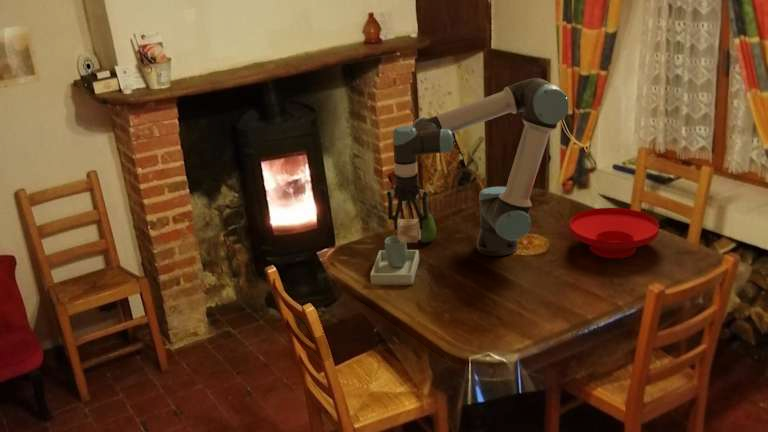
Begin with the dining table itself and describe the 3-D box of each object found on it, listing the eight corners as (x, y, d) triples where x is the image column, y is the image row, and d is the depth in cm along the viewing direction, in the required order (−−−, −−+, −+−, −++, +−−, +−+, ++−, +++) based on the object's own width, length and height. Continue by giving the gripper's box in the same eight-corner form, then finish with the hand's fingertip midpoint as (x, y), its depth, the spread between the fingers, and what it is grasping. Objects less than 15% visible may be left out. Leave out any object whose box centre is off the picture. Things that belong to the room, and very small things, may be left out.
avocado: (441, 241, 311) (439, 212, 306) (424, 248, 307) (422, 218, 302) (428, 235, 317) (426, 206, 312) (411, 241, 313) (409, 212, 309)
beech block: (419, 235, 280) (418, 219, 278) (417, 242, 275) (416, 226, 273) (401, 235, 281) (401, 219, 279) (399, 242, 276) (398, 225, 273)
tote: (419, 259, 298) (418, 250, 296) (412, 284, 280) (411, 274, 279) (380, 260, 300) (379, 250, 299) (371, 285, 283) (370, 274, 281)
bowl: (562, 263, 285) (562, 237, 281) (577, 228, 311) (577, 204, 307) (653, 271, 274) (655, 244, 270) (661, 235, 300) (662, 209, 296)
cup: (406, 270, 289) (403, 244, 285) (384, 270, 291) (382, 244, 287) (410, 260, 296) (408, 235, 292) (389, 260, 298) (386, 235, 294)
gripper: (436, 169, 271) (438, 233, 280) (379, 170, 274) (383, 233, 283) (434, 177, 264) (436, 242, 273) (375, 177, 267) (380, 242, 276)
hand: (409, 237), depth 278 cm, fingers closed on beech block, 6 cm apart
